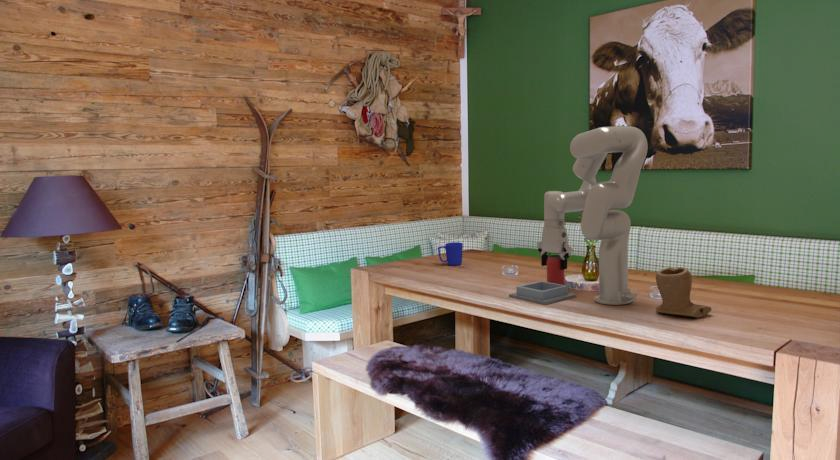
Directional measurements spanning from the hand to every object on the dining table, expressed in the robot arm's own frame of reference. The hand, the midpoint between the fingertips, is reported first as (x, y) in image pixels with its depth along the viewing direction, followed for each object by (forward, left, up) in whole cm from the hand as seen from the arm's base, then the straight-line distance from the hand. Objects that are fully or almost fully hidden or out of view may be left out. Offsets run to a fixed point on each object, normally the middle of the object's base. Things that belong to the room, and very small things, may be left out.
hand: (554, 267), depth 255 cm
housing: (-9, +16, -8) cm, 20 cm away
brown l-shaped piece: (-57, +5, -8) cm, 58 cm away
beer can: (-1, 0, -8) cm, 8 cm away
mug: (+67, -3, -8) cm, 68 cm away
